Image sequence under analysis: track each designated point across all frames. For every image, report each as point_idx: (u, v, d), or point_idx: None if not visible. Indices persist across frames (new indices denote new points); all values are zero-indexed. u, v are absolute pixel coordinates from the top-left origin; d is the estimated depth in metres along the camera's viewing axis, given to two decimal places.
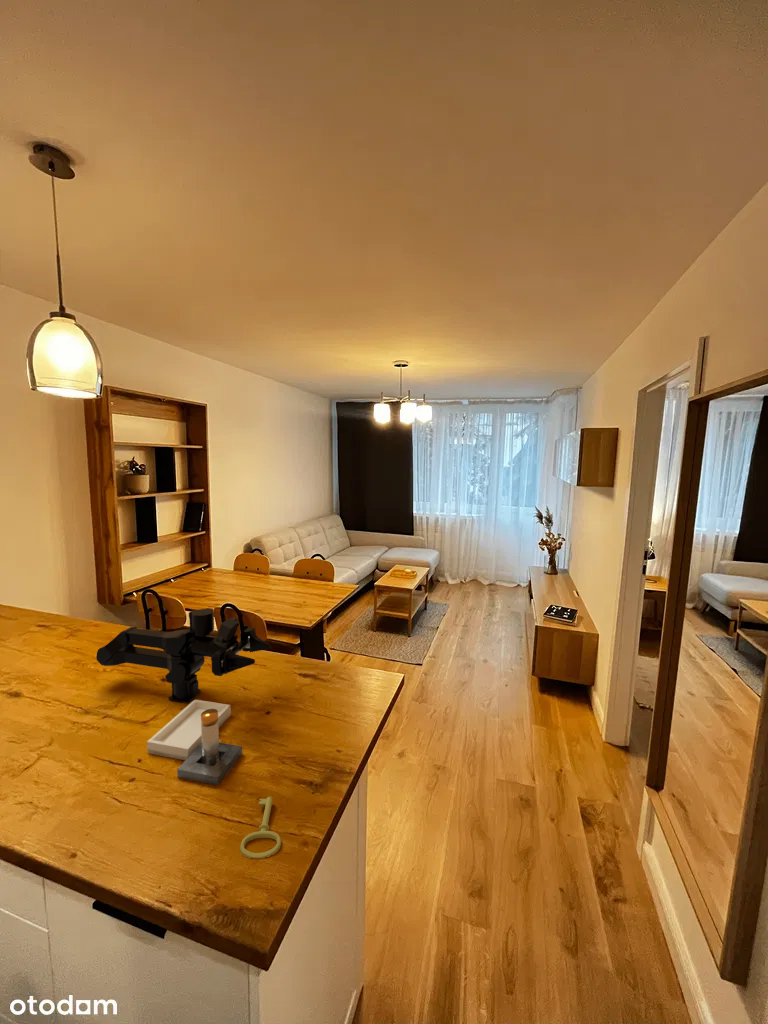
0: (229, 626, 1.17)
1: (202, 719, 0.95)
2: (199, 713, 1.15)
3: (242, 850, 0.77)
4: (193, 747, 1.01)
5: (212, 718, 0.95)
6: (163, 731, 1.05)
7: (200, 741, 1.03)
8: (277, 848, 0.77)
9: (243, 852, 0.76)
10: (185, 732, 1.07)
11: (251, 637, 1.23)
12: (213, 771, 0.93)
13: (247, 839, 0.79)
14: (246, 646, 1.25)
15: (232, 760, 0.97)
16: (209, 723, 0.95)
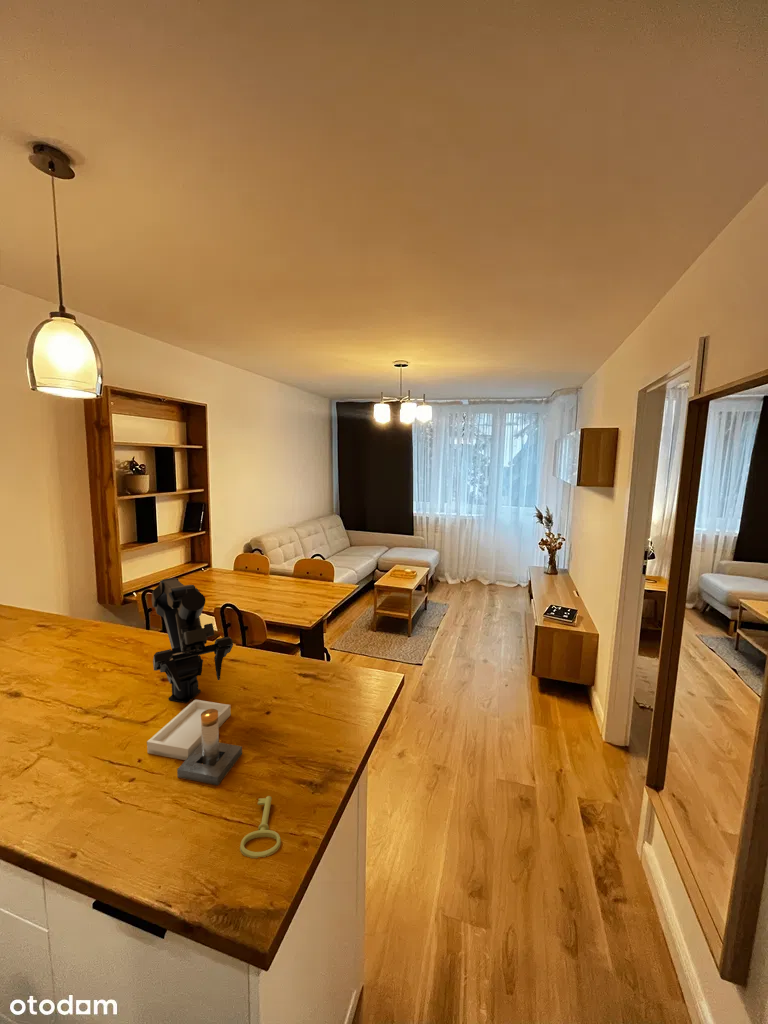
0: (189, 640, 1.05)
1: (202, 719, 0.95)
2: (199, 713, 1.15)
3: (242, 849, 0.77)
4: (193, 747, 1.01)
5: (212, 718, 0.95)
6: (163, 731, 1.05)
7: (200, 741, 1.03)
8: (277, 847, 0.78)
9: (243, 851, 0.77)
10: (185, 732, 1.07)
11: (217, 653, 1.11)
12: (213, 771, 0.93)
13: (247, 839, 0.79)
14: None
15: (232, 760, 0.97)
16: (209, 723, 0.95)
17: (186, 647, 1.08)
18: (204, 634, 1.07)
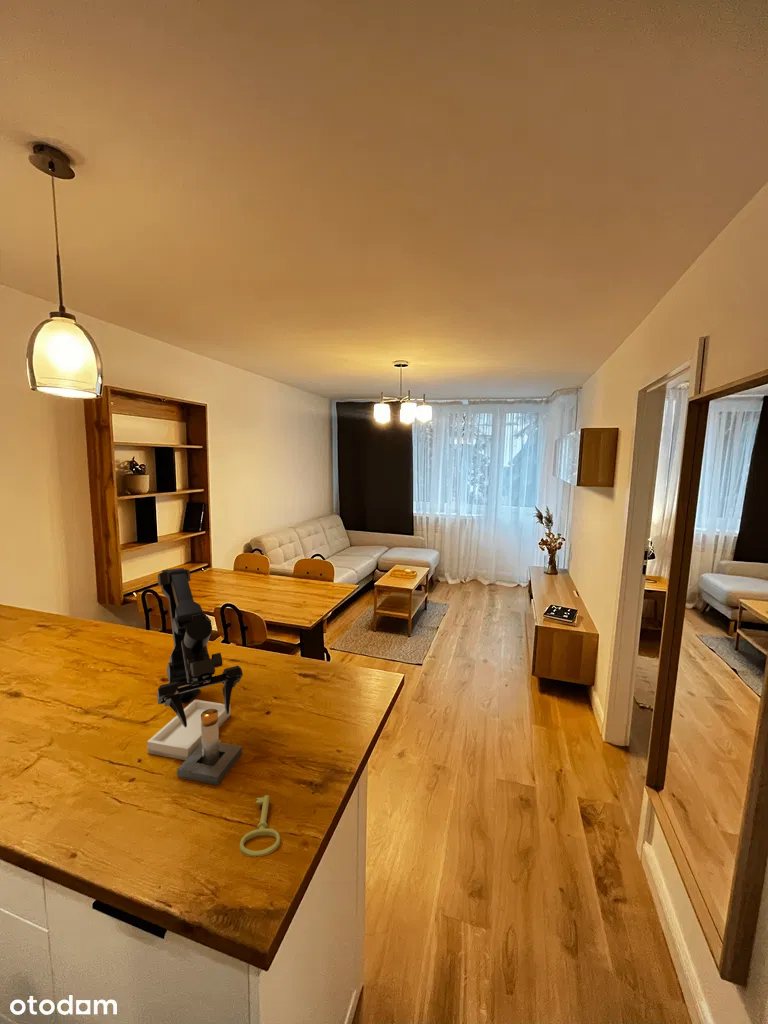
0: (196, 672, 0.97)
1: (202, 719, 0.95)
2: (199, 713, 1.15)
3: (242, 849, 0.77)
4: (193, 747, 1.01)
5: (212, 718, 0.95)
6: (163, 731, 1.05)
7: (200, 741, 1.03)
8: (277, 845, 0.78)
9: (243, 850, 0.77)
10: (185, 732, 1.07)
11: (225, 684, 1.03)
12: (213, 771, 0.93)
13: (246, 838, 0.79)
14: None
15: (232, 760, 0.97)
16: (209, 723, 0.95)
17: (192, 679, 1.01)
18: (212, 665, 0.99)
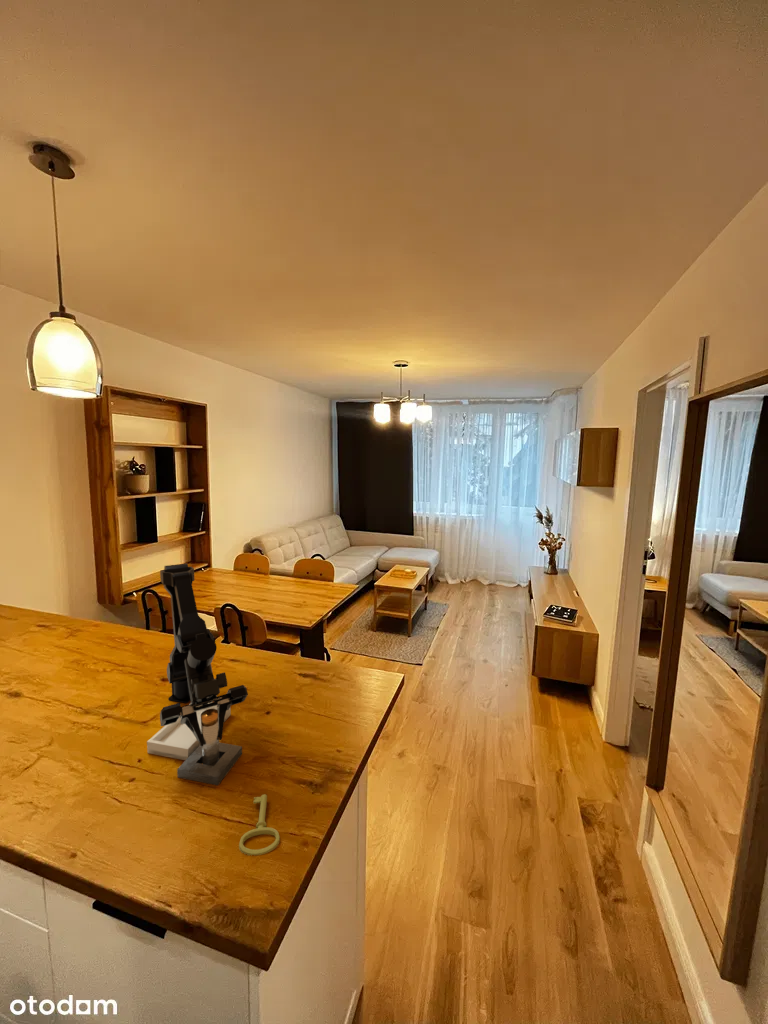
0: (200, 694, 0.94)
1: (202, 719, 0.95)
2: (199, 713, 1.15)
3: (241, 848, 0.77)
4: (193, 747, 1.01)
5: (212, 718, 0.95)
6: (163, 731, 1.05)
7: None
8: (277, 843, 0.78)
9: (243, 850, 0.77)
10: (185, 732, 1.07)
11: (218, 708, 0.99)
12: (213, 771, 0.93)
13: (245, 837, 0.79)
14: None
15: (232, 760, 0.97)
16: (209, 723, 0.95)
17: (196, 700, 0.98)
18: (216, 686, 0.96)
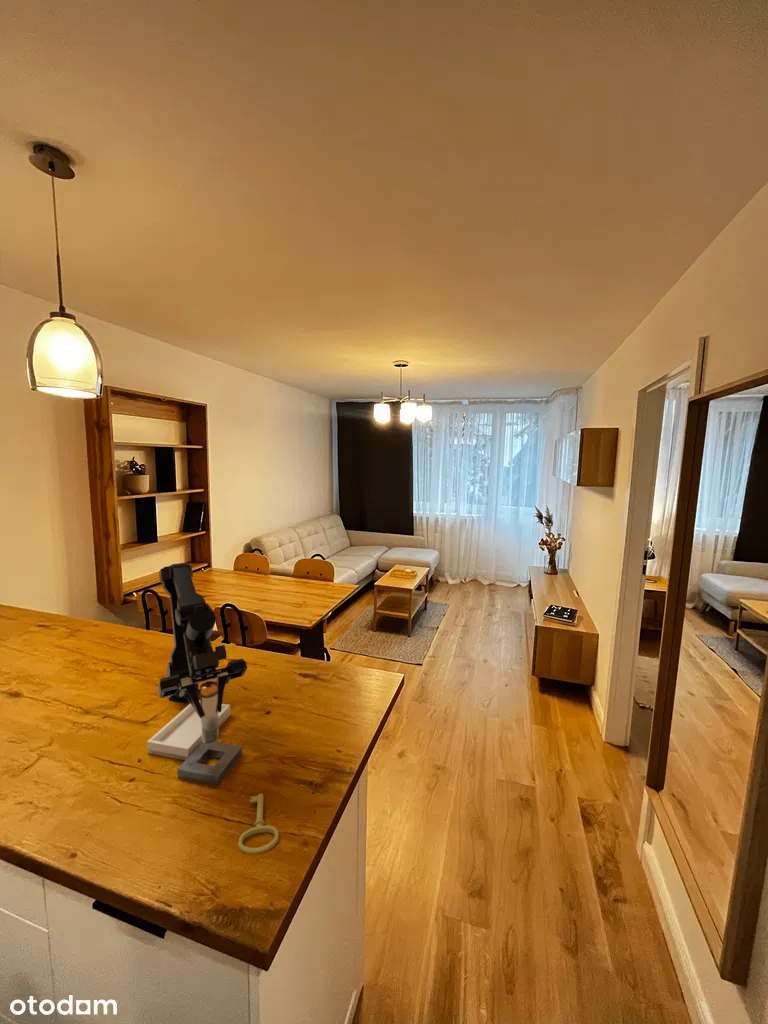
0: (199, 665, 0.93)
1: (201, 690, 0.94)
2: None
3: (241, 847, 0.77)
4: (193, 747, 1.01)
5: (211, 689, 0.94)
6: (163, 731, 1.05)
7: (200, 741, 1.03)
8: (276, 840, 0.79)
9: (242, 849, 0.77)
10: (185, 732, 1.07)
11: (218, 681, 0.98)
12: (213, 771, 0.93)
13: (244, 836, 0.79)
14: None
15: (232, 760, 0.97)
16: (208, 694, 0.94)
17: (195, 672, 0.97)
18: (216, 658, 0.95)
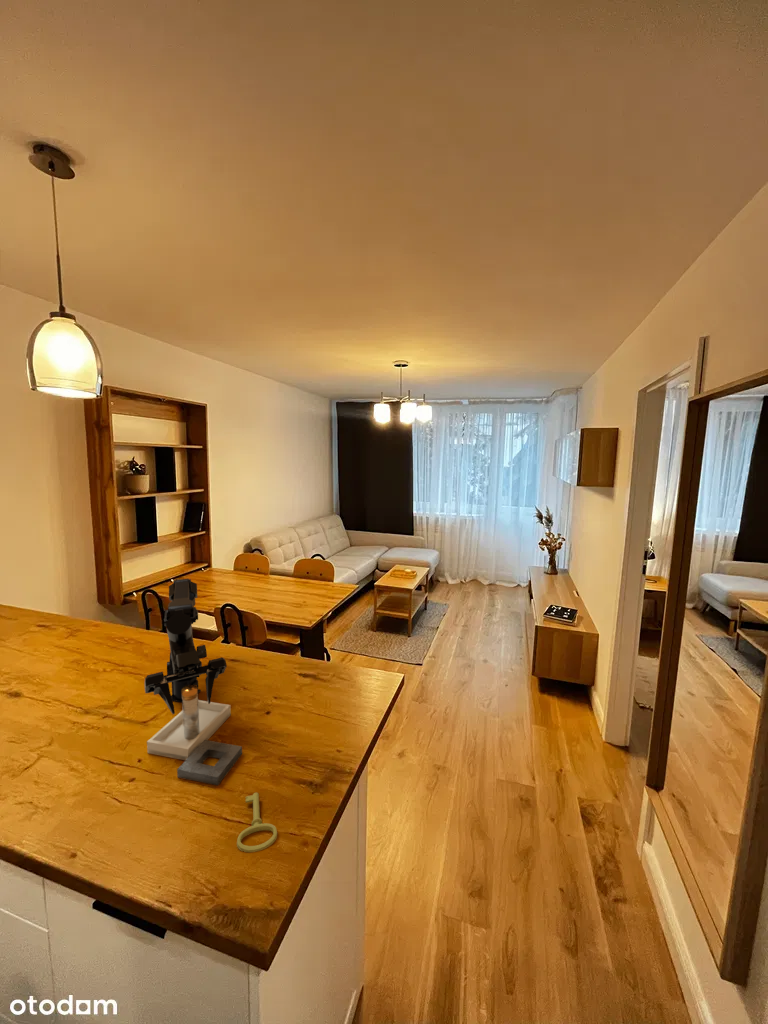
0: (181, 663, 1.02)
1: (182, 693, 1.02)
2: (199, 713, 1.15)
3: (240, 846, 0.77)
4: (193, 747, 1.01)
5: (192, 693, 1.02)
6: (163, 731, 1.05)
7: (200, 741, 1.03)
8: (275, 837, 0.80)
9: (241, 847, 0.77)
10: None
11: (208, 675, 1.09)
12: (213, 771, 0.93)
13: (242, 835, 0.80)
14: None
15: (232, 760, 0.97)
16: (189, 697, 1.02)
17: (178, 669, 1.06)
18: (196, 657, 1.04)
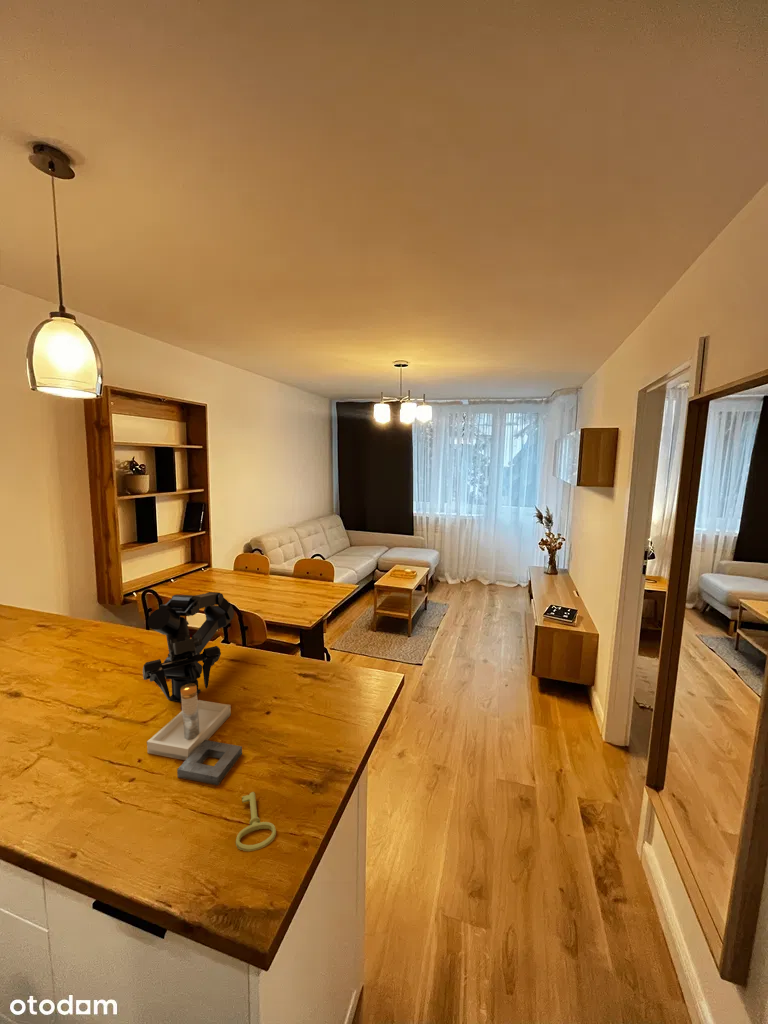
0: (178, 651, 1.09)
1: (181, 692, 1.03)
2: (199, 713, 1.15)
3: (239, 845, 0.78)
4: (193, 747, 1.01)
5: (191, 691, 1.03)
6: (163, 731, 1.05)
7: (200, 741, 1.03)
8: (274, 835, 0.80)
9: (241, 847, 0.77)
10: None
11: (205, 662, 1.15)
12: (213, 771, 0.93)
13: (241, 835, 0.80)
14: None
15: (232, 760, 0.97)
16: (188, 696, 1.03)
17: (175, 657, 1.12)
18: (192, 644, 1.11)
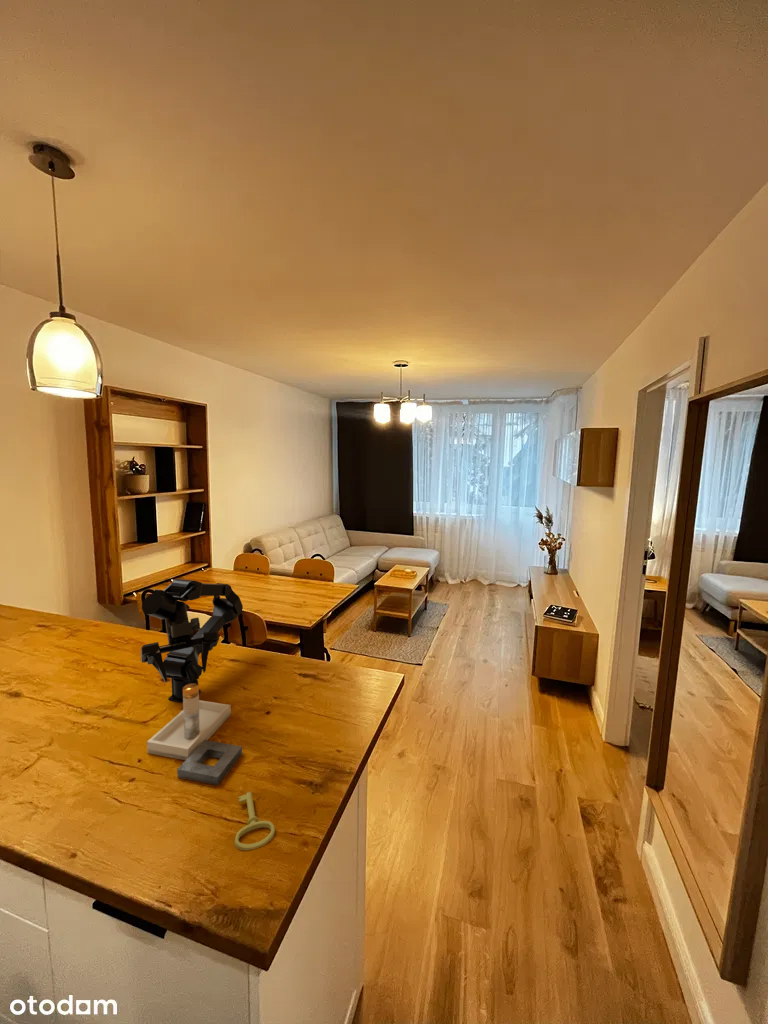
0: (175, 633, 1.08)
1: (184, 691, 1.03)
2: (199, 713, 1.15)
3: (239, 845, 0.78)
4: (193, 747, 1.01)
5: (193, 691, 1.03)
6: (163, 731, 1.05)
7: (200, 741, 1.03)
8: (273, 833, 0.80)
9: (240, 846, 0.78)
10: None
11: (203, 646, 1.15)
12: (213, 771, 0.93)
13: (239, 834, 0.80)
14: (202, 644, 1.18)
15: (232, 760, 0.97)
16: (190, 696, 1.03)
17: (173, 640, 1.12)
18: (190, 628, 1.10)
